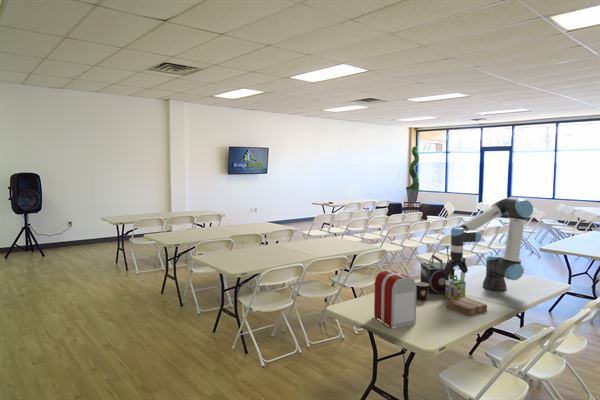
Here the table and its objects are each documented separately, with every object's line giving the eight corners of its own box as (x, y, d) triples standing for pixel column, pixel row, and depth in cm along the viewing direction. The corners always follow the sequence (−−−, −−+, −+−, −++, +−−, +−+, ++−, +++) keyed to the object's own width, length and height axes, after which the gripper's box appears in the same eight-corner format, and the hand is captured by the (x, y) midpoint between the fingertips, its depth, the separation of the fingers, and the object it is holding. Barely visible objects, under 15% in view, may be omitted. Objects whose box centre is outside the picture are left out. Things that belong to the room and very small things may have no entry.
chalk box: (456, 301, 252) (456, 278, 251) (444, 297, 260) (445, 275, 259) (465, 299, 256) (466, 276, 255) (454, 294, 264) (454, 273, 263)
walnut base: (464, 302, 249) (464, 296, 249) (486, 311, 235) (486, 304, 235) (446, 307, 242) (446, 300, 242) (468, 315, 228) (468, 309, 227)
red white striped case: (391, 328, 210) (392, 279, 208) (373, 317, 227) (373, 271, 224) (416, 323, 217) (417, 276, 214) (396, 312, 233) (397, 268, 231)
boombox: (418, 285, 284) (419, 245, 281) (446, 285, 285) (447, 244, 282) (427, 294, 266) (428, 250, 263) (457, 293, 267) (459, 250, 264)
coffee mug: (429, 298, 258) (429, 283, 257) (427, 302, 251) (427, 286, 250) (410, 295, 263) (411, 280, 262) (408, 299, 255) (409, 284, 255)
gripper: (465, 248, 264) (463, 279, 266) (438, 252, 253) (436, 284, 255) (474, 250, 258) (473, 282, 260) (447, 254, 246) (445, 287, 248)
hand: (455, 283), depth 257 cm, fingers open, 13 cm apart
